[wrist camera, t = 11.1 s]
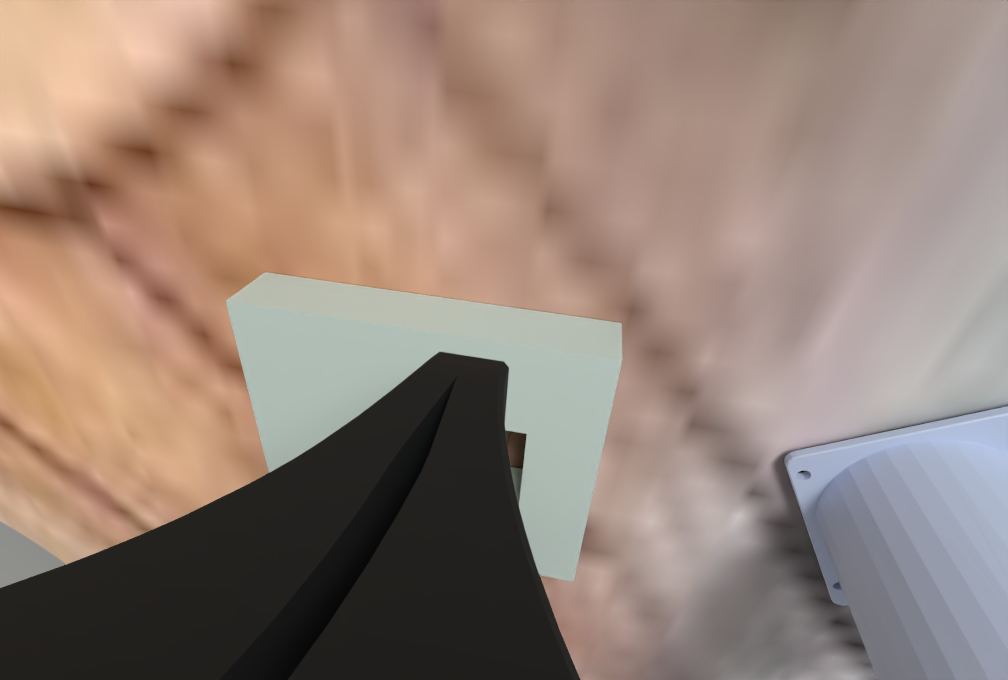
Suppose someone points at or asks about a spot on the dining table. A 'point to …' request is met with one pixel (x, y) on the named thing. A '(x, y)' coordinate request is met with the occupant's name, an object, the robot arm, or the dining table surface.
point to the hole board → (408, 345)
